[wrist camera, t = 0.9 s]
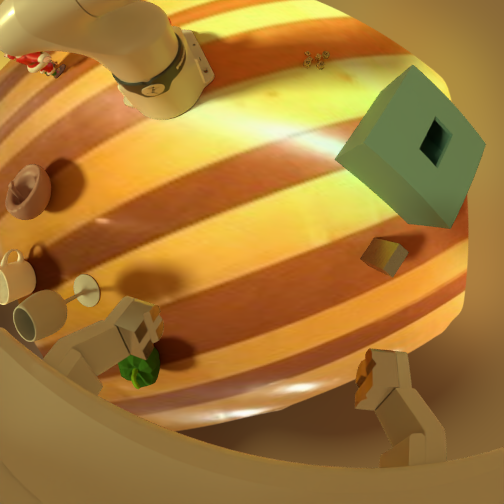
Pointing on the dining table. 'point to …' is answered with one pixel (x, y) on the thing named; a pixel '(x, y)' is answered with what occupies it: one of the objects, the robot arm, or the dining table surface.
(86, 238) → the dining table surface
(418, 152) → the coin box
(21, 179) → the mortar and pestle
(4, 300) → the mug
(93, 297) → the wineglass
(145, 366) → the bell pepper
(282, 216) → the dining table surface
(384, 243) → the brown upright bar
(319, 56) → the dice set
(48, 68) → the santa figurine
